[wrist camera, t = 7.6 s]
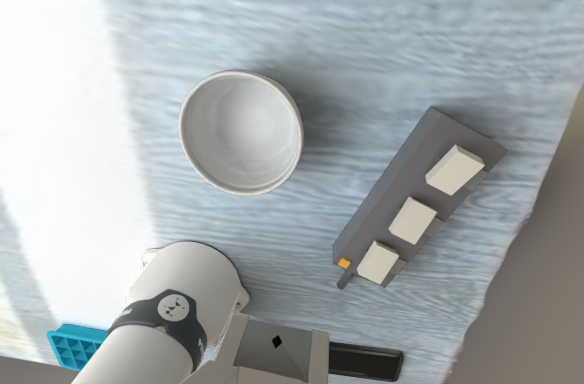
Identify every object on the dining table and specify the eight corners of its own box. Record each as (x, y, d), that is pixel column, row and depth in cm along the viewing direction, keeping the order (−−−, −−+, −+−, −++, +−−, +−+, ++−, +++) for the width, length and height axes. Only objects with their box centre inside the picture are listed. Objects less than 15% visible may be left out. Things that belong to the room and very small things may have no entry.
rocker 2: (410, 239, 35) (414, 244, 33) (388, 228, 34) (391, 233, 33) (431, 207, 33) (437, 212, 32) (409, 196, 33) (413, 200, 32)
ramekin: (285, 187, 40) (276, 214, 34) (193, 150, 39) (167, 169, 33) (326, 93, 34) (324, 103, 28) (218, 46, 33) (191, 46, 27)
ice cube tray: (158, 370, 64) (150, 384, 61) (72, 354, 66) (61, 367, 63) (151, 334, 59) (142, 348, 56) (57, 318, 60) (44, 330, 58)
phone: (316, 343, 52) (404, 355, 50) (316, 338, 53) (403, 349, 51) (314, 371, 55) (396, 383, 53) (314, 366, 56) (395, 377, 54)
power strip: (362, 289, 46) (365, 313, 42) (316, 267, 45) (314, 290, 41) (490, 139, 33) (511, 152, 29) (430, 106, 33) (443, 115, 29)
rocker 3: (448, 187, 32) (451, 195, 31) (425, 175, 32) (426, 183, 31) (480, 158, 29) (484, 165, 28) (455, 144, 29) (458, 151, 28)
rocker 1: (377, 278, 38) (380, 284, 36) (356, 268, 37) (358, 274, 36) (395, 250, 37) (399, 255, 35) (374, 240, 36) (377, 245, 35)
